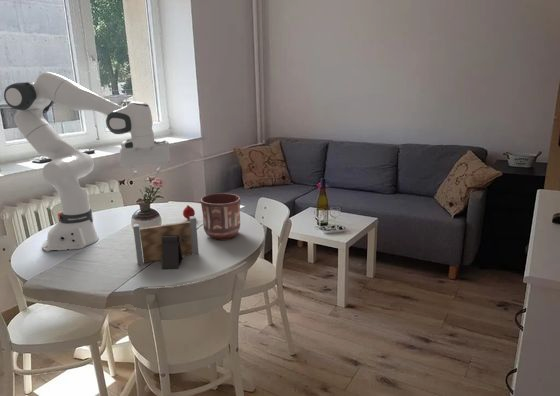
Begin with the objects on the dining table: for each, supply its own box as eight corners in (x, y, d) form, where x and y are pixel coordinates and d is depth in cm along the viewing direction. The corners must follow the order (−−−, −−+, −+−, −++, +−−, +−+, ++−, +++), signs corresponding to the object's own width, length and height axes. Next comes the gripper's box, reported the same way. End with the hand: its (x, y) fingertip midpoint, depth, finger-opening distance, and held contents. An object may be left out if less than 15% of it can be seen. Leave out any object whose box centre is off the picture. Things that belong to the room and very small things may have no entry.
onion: (195, 217, 219) (194, 203, 217) (194, 221, 213) (193, 206, 211) (184, 218, 219) (183, 203, 216) (182, 222, 213) (181, 206, 211)
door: (144, 264, 166) (140, 231, 162) (143, 261, 169) (139, 228, 165) (193, 256, 173) (191, 223, 169) (192, 252, 176) (189, 221, 172)
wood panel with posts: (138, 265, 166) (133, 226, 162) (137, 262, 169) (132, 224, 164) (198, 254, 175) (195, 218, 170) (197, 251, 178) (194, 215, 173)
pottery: (206, 245, 184) (203, 205, 179) (200, 231, 200) (197, 194, 195) (245, 240, 189) (244, 201, 184) (236, 227, 205) (235, 191, 200)
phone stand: (177, 269, 162) (174, 240, 159) (162, 269, 162) (159, 240, 159) (183, 259, 171) (180, 231, 167) (168, 259, 171) (165, 231, 168)
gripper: (168, 139, 181) (170, 170, 185) (117, 142, 174) (121, 175, 178) (170, 141, 175) (173, 173, 179) (117, 145, 168) (122, 178, 172)
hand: (146, 174), depth 178 cm, fingers open, 8 cm apart
